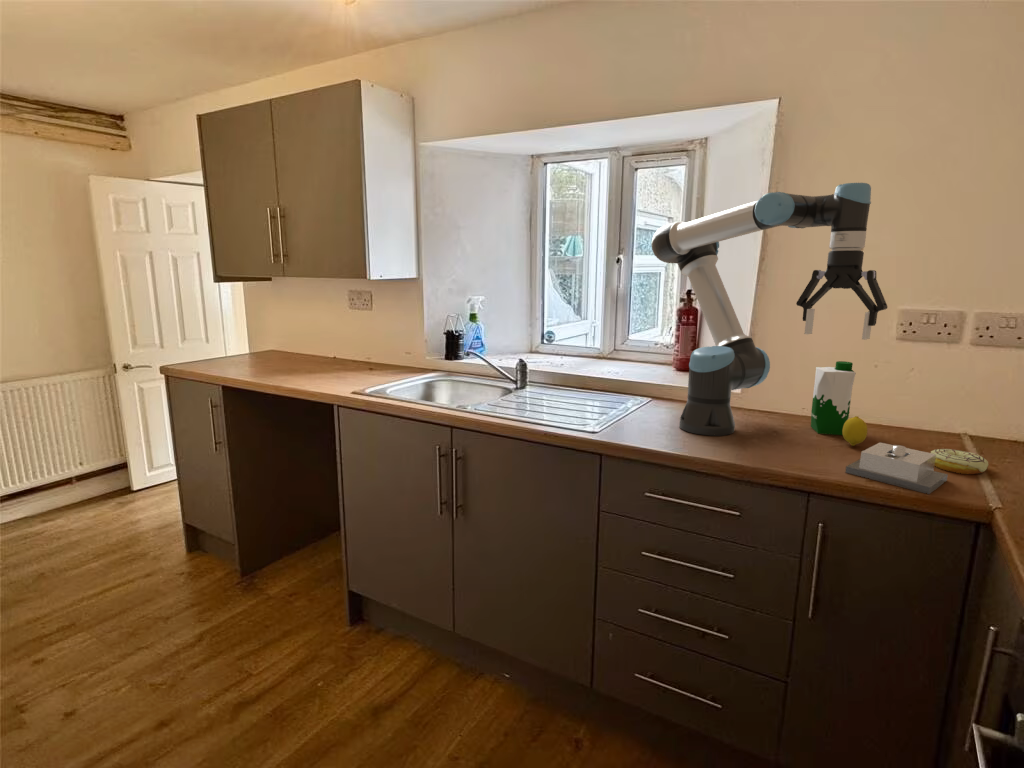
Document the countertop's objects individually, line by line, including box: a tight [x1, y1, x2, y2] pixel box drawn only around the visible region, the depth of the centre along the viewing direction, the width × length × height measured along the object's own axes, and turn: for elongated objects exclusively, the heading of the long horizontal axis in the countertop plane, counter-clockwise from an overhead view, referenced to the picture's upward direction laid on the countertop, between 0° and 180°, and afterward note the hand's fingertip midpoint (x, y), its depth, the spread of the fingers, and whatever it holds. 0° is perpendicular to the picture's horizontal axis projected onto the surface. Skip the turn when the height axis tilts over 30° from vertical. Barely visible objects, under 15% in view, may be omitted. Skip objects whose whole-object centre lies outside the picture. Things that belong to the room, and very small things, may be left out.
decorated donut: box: [930, 448, 989, 475], centre depth 131 cm, size 10×11×4 cm
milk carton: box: [810, 360, 856, 436], centre depth 159 cm, size 9×9×20 cm
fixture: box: [844, 444, 948, 495], centre depth 125 cm, size 16×12×7 cm
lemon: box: [842, 415, 868, 447], centre depth 147 cm, size 6×6×8 cm
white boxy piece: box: [859, 442, 936, 483], centre depth 125 cm, size 11×11×4 cm
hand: (835, 336), depth 142 cm, fingers open, 13 cm apart
